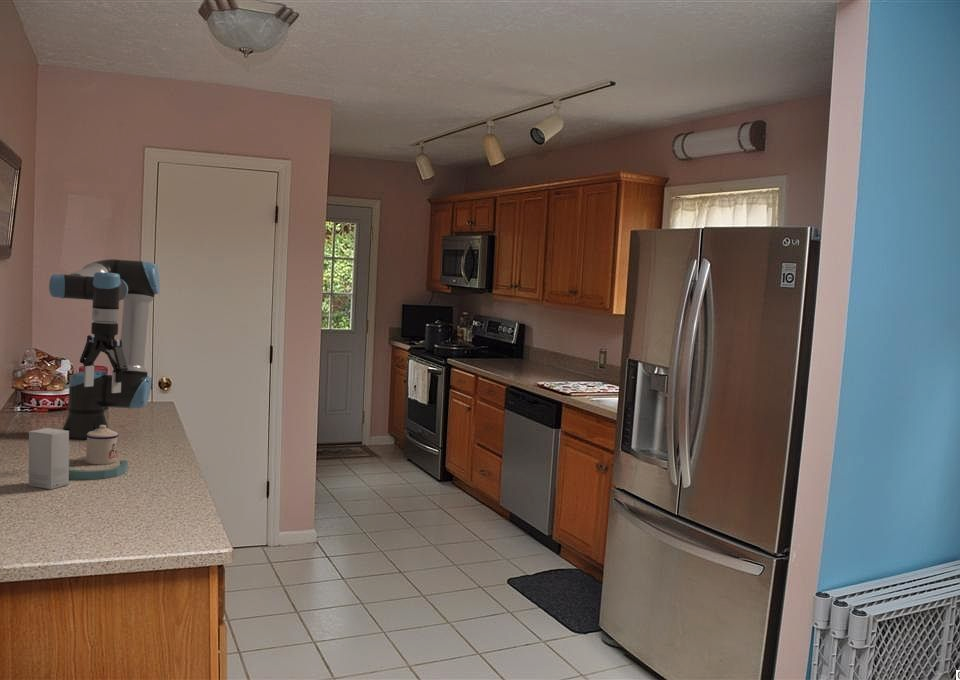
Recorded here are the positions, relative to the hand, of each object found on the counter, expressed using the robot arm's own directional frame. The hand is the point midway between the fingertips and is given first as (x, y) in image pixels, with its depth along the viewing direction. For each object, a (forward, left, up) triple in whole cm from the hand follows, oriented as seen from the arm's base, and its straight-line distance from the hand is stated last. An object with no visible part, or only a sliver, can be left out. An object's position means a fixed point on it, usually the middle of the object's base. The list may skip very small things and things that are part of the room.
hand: (102, 389), depth 248 cm
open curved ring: (+14, 0, -23) cm, 27 cm away
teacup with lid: (-2, 0, -23) cm, 23 cm away
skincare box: (+29, -7, -23) cm, 38 cm away
